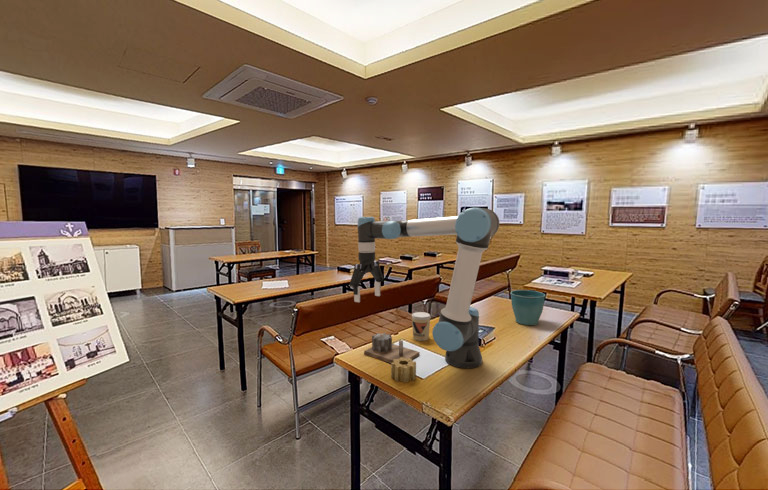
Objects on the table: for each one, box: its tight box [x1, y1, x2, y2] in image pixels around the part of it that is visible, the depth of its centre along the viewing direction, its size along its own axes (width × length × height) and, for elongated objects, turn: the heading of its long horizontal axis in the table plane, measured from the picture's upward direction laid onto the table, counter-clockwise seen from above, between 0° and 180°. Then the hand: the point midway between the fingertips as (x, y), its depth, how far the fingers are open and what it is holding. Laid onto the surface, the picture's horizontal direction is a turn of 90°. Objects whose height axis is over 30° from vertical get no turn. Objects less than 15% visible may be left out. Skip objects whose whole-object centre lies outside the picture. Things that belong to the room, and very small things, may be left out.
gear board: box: [363, 332, 421, 364], centre depth 145 cm, size 20×14×8 cm
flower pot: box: [510, 289, 546, 326], centre depth 188 cm, size 18×18×17 cm
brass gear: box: [390, 357, 417, 384], centre depth 125 cm, size 9×9×6 cm
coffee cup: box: [411, 311, 431, 342], centre depth 165 cm, size 9×9×12 cm
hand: (367, 298), depth 148 cm, fingers open, 13 cm apart
